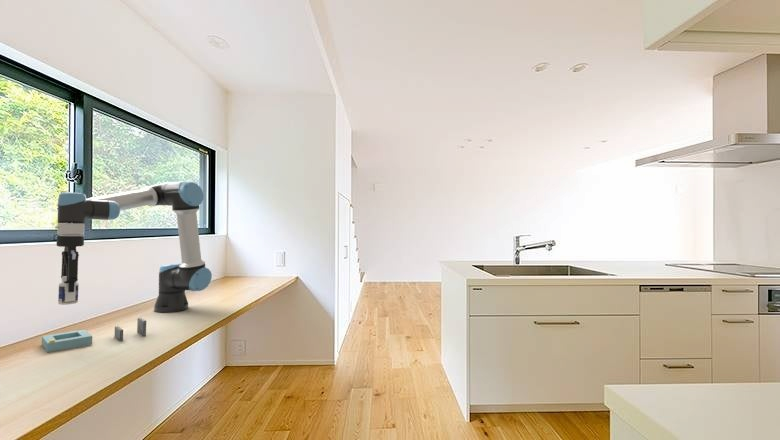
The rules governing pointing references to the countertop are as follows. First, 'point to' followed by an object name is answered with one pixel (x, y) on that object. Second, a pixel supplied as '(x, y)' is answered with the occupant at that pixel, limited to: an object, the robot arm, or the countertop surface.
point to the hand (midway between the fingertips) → (68, 299)
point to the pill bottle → (62, 293)
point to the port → (66, 340)
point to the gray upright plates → (140, 329)
